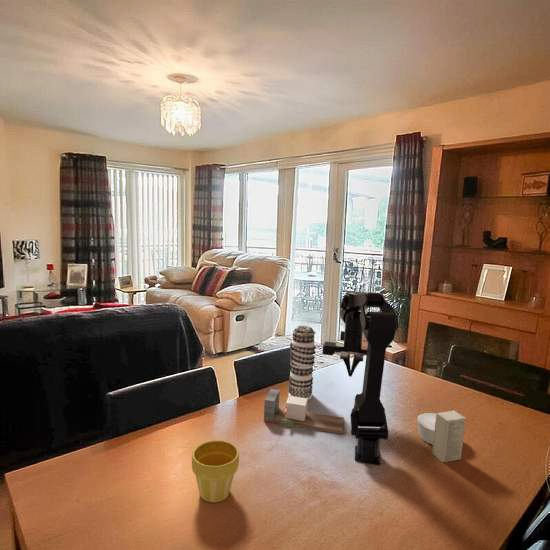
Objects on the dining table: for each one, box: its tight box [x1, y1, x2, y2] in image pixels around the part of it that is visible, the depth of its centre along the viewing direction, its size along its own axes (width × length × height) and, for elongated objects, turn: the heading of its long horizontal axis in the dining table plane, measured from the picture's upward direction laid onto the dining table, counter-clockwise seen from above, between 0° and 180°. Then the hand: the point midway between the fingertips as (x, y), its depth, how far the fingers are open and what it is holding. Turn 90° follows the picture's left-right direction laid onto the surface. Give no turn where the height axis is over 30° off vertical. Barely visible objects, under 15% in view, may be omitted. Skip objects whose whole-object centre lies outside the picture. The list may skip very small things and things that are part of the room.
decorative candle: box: [287, 325, 317, 401], centre depth 134 cm, size 9×9×25 cm
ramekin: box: [416, 412, 437, 446], centre depth 112 cm, size 11×11×5 cm
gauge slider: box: [284, 396, 309, 421], centre depth 117 cm, size 8×6×5 cm
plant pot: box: [191, 439, 240, 504], centre depth 86 cm, size 10×10×10 cm
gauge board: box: [263, 388, 345, 435], centre depth 118 cm, size 9×24×7 cm, turn 77°
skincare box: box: [431, 409, 467, 463], centre depth 103 cm, size 6×4×12 cm
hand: (350, 376), depth 125 cm, fingers closed
